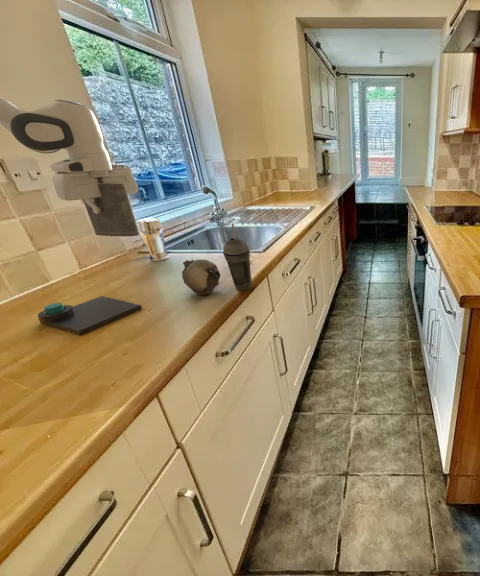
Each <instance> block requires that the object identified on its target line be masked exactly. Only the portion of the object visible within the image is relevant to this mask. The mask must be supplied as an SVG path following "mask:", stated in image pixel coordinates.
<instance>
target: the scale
mask: <svg viewBox="0 0 480 576" xmlns="http://www.w3.org/2000/svg"><path fill="white" fill-rule="evenodd" d="M62 305H63V307H64V309H65V310H63V311H61V312H58V313H55V314H47V313H46V311H45V309H43V310H42V311H40V312H39V313H37V317H38V321H39V323H40V324H41V325H43V326H47V327H50V328H54V329H57V330H60V331H64V332H67V333H70V334H73V335H76V336H80V337H82V336H84V335H86V334H89V333H91V332H93V331H96V330H98V329H100V328H102V327H105V326H107V325H110V324H112V323H114V322H116V321H119V320H121V319H124V318H126V317H128V316H130V315H132V314H135V313H137V312H139V311H141V310H143V308H142V305H141V304H138V303H133V302H130V301H126V300H125V301H124V300H121V299H116V298H112V297H108V296H105V295H104V296H103V295H100V296H98V297H95V298H92V299H89V300H86V301H84V302H81V303H78V304H76V305H71V304H62Z"/></svg>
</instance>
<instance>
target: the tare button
mask: <svg viewBox="0 0 480 576" xmlns="http://www.w3.org/2000/svg"><path fill="white" fill-rule="evenodd" d="M63 305H64V304H63V303H62V302H55V303H54V302H53V303H50V304H47V305H45V306H44V307H43V310H45V311H46V313H47V314H55V313H58V312H61V311H63V310H65V309H64V307H63Z"/></svg>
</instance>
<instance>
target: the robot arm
mask: <svg viewBox="0 0 480 576" xmlns="http://www.w3.org/2000/svg"><path fill="white" fill-rule="evenodd" d="M0 125H1V126H3V127H4V128H5V129H7V130H8V131H9V132H10V133H11V134H12V135H13V137H14V139H16V140H17V142H19V143H20V144H21V145H22V146H24V147H26V148H27V149H29V150H31V151H33V152H36V153H39V154H54V153H57V152H59V151H60V150H65V151H66V152H67V154H68V158H65V159H63V160H59V161H56V162H53V163H51V164H50V165H49V166H50V169H51V171H52V172H54V174H53V177H52V182H53V186H54V190H55V193H56V195H57V197H58V198H59V199H60V200H62V201H67V202H71V201H72V202H73V201H81V200H83V199H84V200H85V202H86V203H87V204H88V205H89V206H90V207H92V209H93V212H94V213H95V214H98V213H103V212H102V209H101V207H97V206H96V205H95V204H94V203H93V202H95V200H94V198H99V197H101V193H100V190H99V187H98V184H107V183H123V184H124V186H125V190H126V193H127V195H133V194H138V192H139V187H138V184H137V182H136V179H135V178H134V177H135V176H133V171H132V168H131V167H130V166H129V165H127V164H125V163H112V162H111V159H110V156H109V152H108V151H107V149H106V148H105V145H104V137H103V133H102V130H101V128H100V125H99V123H98V120H97V117H96V116H95V114H94V112H93V111H92V110H91V109H90V108H89V107H87V106H86V105H84V104H81V103H79V102H75V101H69V100H63V99H54V100H53V101H52V102H50V103H49V104H47V105H44V106H42V107H40V108H37V109H33V110H29V111H27V110H24V109H22V108H20V107H18V106H17V105H15V104H13V103H12V102H10V101H8V100H7V99H5V98H4V97H2V96H0ZM97 177H102V178H103V179H102V180H103V182H101V183H97V181H98V179H95V178H97Z"/></svg>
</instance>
